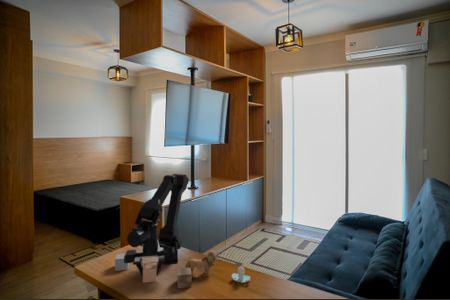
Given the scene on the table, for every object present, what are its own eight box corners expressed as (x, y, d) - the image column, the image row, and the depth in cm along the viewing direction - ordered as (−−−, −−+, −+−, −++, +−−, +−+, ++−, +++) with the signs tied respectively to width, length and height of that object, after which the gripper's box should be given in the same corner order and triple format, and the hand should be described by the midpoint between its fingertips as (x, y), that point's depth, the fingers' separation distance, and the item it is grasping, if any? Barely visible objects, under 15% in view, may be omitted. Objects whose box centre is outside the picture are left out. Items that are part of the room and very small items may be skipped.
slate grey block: (129, 264, 118) (129, 253, 118) (127, 270, 113) (127, 258, 113) (117, 265, 117) (117, 254, 117) (115, 271, 112) (115, 259, 112)
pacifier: (234, 275, 111) (230, 282, 105) (235, 260, 111) (230, 266, 105) (252, 279, 109) (248, 286, 103) (252, 263, 108) (249, 270, 103)
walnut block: (190, 279, 107) (190, 267, 106) (191, 287, 102) (191, 274, 101) (177, 281, 106) (177, 268, 105) (177, 288, 101) (177, 275, 100)
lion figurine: (214, 268, 116) (214, 248, 115) (218, 274, 111) (219, 253, 110) (180, 274, 110) (180, 253, 110) (183, 281, 105) (183, 258, 105)
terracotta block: (156, 274, 110) (156, 262, 110) (156, 281, 105) (156, 268, 105) (144, 275, 109) (144, 263, 108) (142, 282, 104) (142, 269, 104)
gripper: (174, 228, 116) (173, 264, 117) (127, 231, 112) (128, 267, 113) (174, 238, 105) (174, 277, 106) (123, 241, 101) (123, 282, 102)
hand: (150, 275), depth 107 cm, fingers closed on terracotta block, 5 cm apart
